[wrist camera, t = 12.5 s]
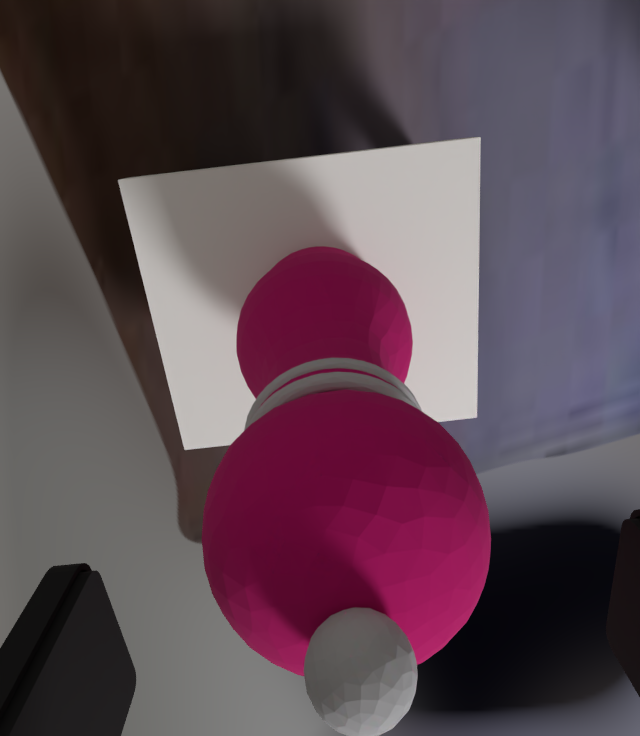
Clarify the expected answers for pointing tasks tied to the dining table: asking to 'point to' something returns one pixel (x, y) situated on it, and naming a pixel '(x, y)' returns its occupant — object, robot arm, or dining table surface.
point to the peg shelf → (299, 231)
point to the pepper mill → (341, 496)
